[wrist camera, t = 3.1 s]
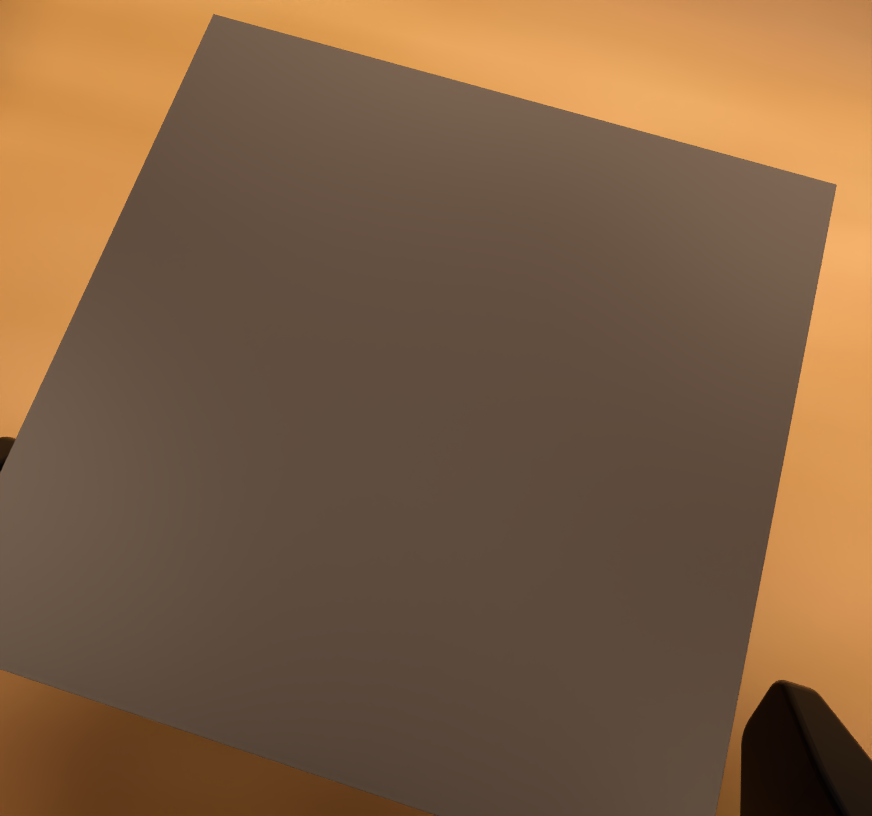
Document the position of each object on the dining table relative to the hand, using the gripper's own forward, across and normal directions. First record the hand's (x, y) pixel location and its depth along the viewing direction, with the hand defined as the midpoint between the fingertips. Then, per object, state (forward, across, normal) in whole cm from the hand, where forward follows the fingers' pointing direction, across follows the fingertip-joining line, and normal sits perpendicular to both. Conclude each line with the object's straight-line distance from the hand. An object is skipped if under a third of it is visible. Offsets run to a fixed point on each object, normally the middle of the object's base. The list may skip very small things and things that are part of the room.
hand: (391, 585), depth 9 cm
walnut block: (+7, 0, +5) cm, 9 cm away
